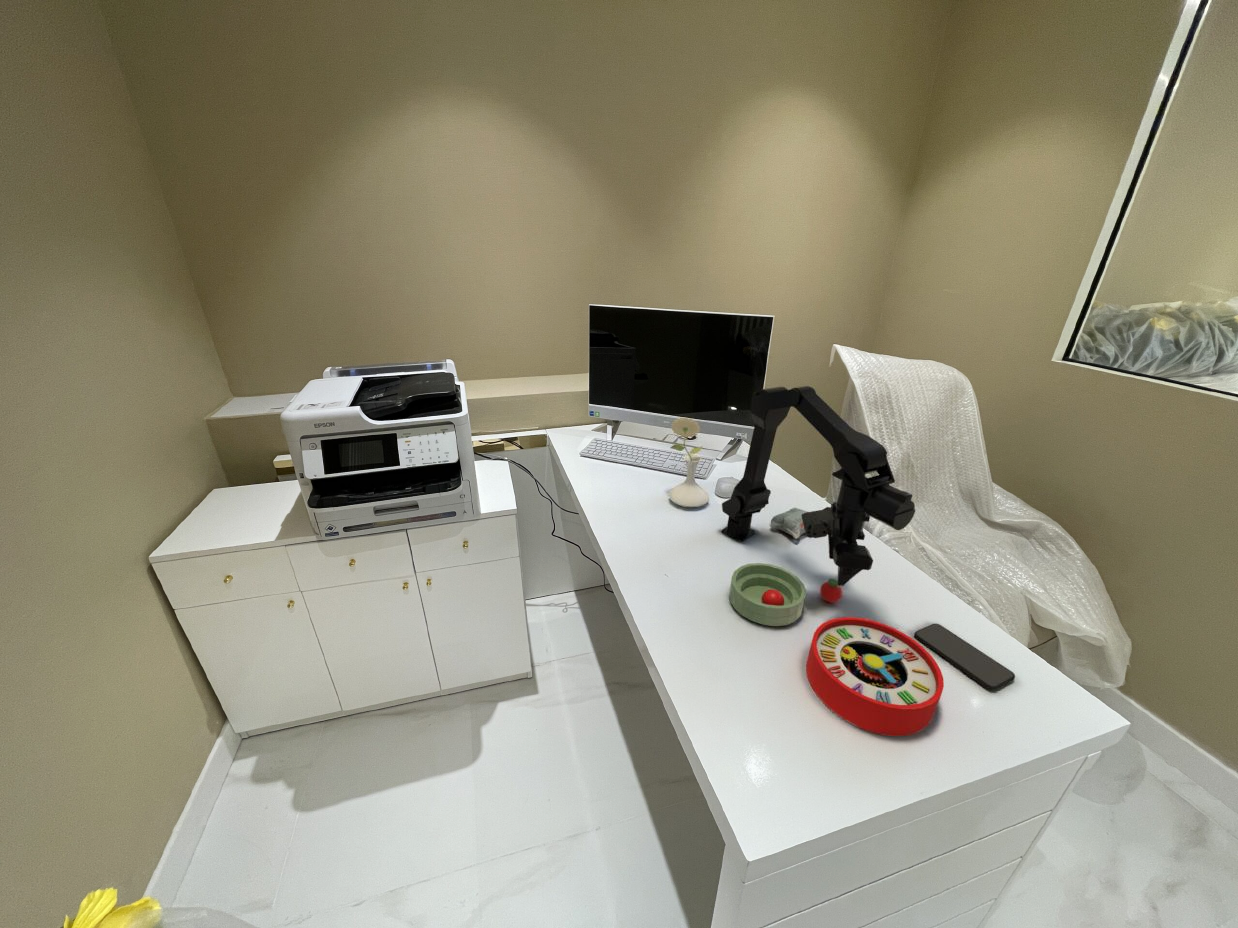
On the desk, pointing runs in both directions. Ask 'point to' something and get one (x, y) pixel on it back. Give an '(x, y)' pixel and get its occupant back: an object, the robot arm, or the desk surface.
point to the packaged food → (790, 522)
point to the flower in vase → (688, 468)
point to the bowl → (759, 579)
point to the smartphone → (965, 656)
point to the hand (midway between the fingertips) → (835, 571)
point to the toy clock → (874, 676)
